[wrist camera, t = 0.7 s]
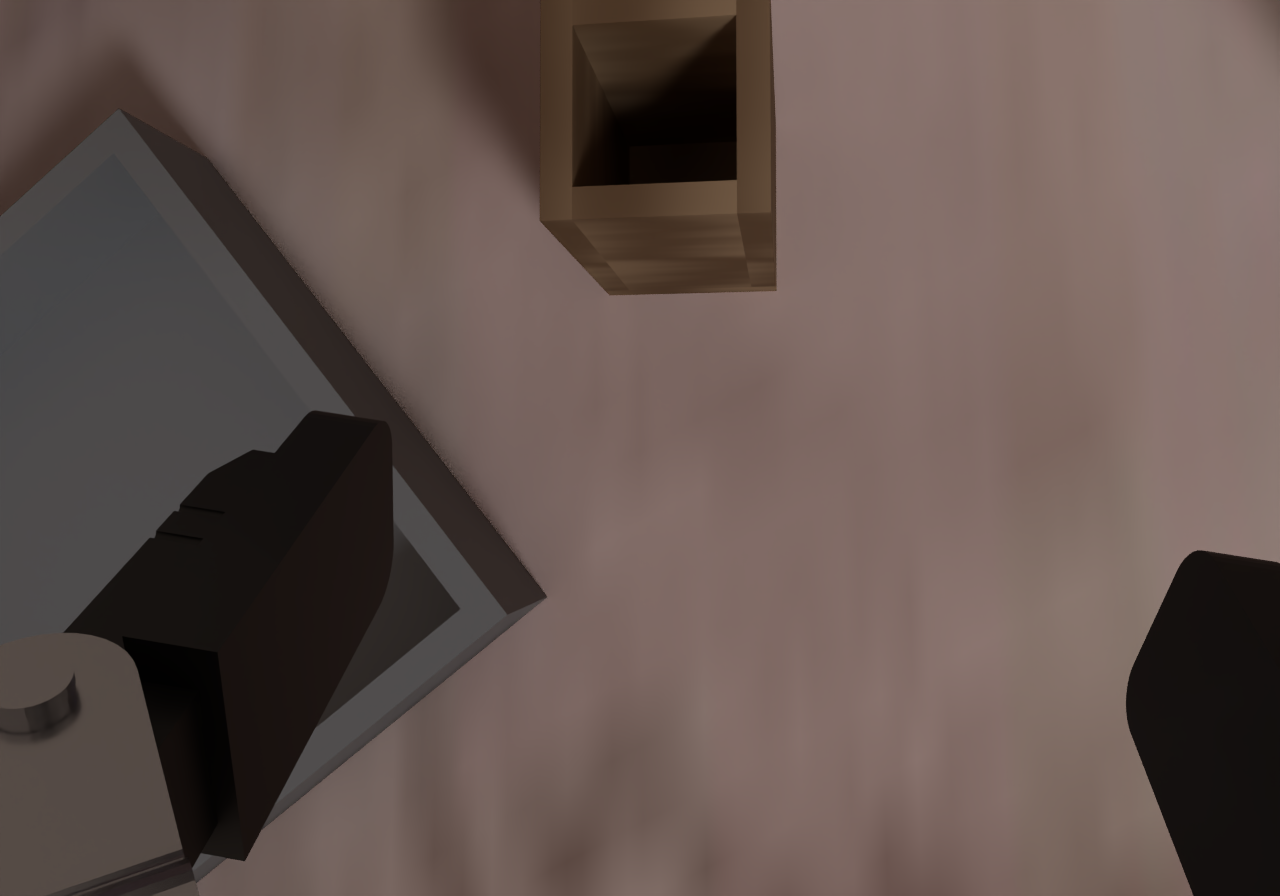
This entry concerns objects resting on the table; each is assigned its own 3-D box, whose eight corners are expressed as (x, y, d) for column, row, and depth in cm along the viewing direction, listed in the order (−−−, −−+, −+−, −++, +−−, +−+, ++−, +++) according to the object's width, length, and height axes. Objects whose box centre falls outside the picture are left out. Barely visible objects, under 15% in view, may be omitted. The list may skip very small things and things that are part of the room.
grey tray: (206, 157, 38) (118, 108, 33) (547, 597, 35) (507, 614, 30) (-220, 540, 40) (-364, 547, 35) (76, 981, 37) (-34, 1056, 32)
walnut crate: (775, 123, 35) (769, -21, 25) (776, 290, 35) (770, 211, 25) (609, 131, 36) (540, -5, 26) (609, 295, 35) (539, 220, 26)
